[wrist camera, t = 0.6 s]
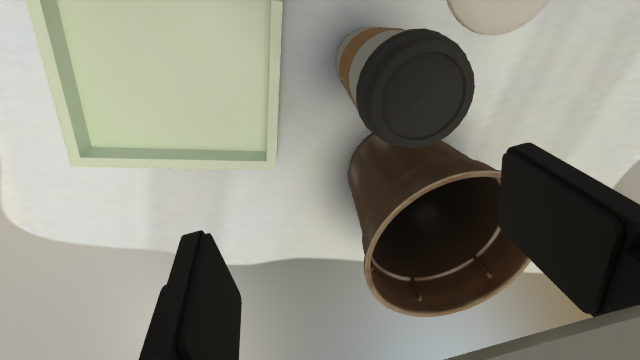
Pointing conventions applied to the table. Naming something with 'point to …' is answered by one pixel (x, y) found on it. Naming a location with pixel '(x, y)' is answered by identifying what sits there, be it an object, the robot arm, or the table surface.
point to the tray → (163, 80)
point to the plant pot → (430, 228)
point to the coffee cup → (406, 83)
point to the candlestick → (495, 14)
